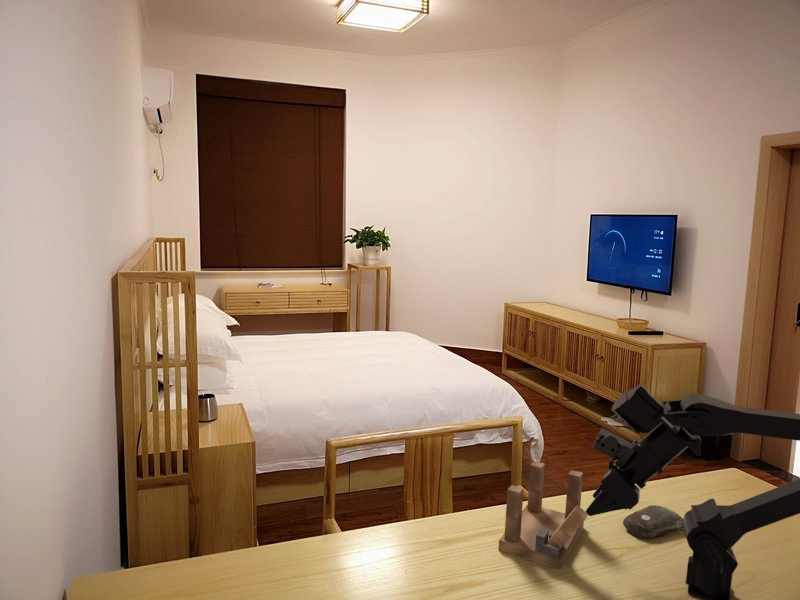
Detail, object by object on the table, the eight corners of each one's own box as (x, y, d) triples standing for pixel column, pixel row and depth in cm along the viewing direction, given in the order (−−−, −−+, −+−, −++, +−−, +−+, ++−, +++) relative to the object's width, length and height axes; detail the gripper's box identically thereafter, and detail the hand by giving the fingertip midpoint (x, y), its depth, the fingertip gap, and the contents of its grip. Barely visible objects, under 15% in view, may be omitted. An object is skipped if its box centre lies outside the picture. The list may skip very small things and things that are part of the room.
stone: (634, 527, 120) (610, 505, 129) (635, 547, 120) (611, 524, 130) (697, 516, 121) (668, 495, 131) (697, 536, 122) (669, 514, 132)
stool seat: (583, 527, 124) (587, 472, 123) (559, 571, 108) (564, 508, 107) (527, 512, 130) (531, 459, 129) (497, 551, 114) (500, 491, 113)
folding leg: (558, 549, 112) (588, 513, 109) (553, 556, 110) (584, 520, 106) (547, 540, 113) (577, 504, 110) (543, 547, 111) (573, 510, 107)
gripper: (624, 407, 115) (567, 458, 120) (615, 426, 98) (548, 485, 103) (670, 451, 112) (609, 502, 116) (668, 479, 95) (597, 537, 99)
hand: (591, 505), depth 109 cm, fingers open, 9 cm apart
